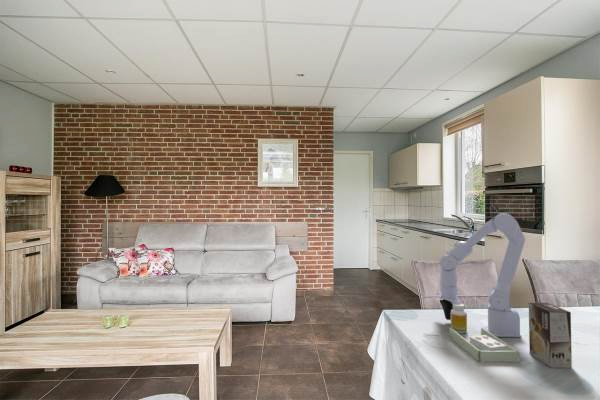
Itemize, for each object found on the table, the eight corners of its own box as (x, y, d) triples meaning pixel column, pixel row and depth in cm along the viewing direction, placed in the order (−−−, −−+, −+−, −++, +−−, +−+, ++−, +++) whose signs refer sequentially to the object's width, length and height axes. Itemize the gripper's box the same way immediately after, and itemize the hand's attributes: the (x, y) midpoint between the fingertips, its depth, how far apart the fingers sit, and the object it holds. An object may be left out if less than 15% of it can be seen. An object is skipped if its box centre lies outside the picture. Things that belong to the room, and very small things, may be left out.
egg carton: (484, 347, 101) (484, 332, 101) (506, 358, 94) (506, 343, 94) (469, 349, 100) (469, 334, 100) (490, 361, 92) (490, 345, 92)
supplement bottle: (469, 334, 111) (468, 307, 111) (453, 332, 112) (452, 306, 112) (464, 328, 116) (464, 302, 117) (449, 327, 117) (448, 301, 118)
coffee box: (573, 368, 88) (572, 312, 88) (550, 368, 88) (550, 312, 88) (548, 353, 97) (547, 302, 97) (527, 352, 97) (527, 302, 97)
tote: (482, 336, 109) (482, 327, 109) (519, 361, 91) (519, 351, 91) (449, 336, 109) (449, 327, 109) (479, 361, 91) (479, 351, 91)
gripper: (430, 280, 129) (430, 312, 129) (447, 289, 115) (447, 326, 115) (447, 280, 129) (447, 312, 129) (466, 290, 115) (466, 326, 115)
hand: (448, 319), depth 122 cm, fingers closed
